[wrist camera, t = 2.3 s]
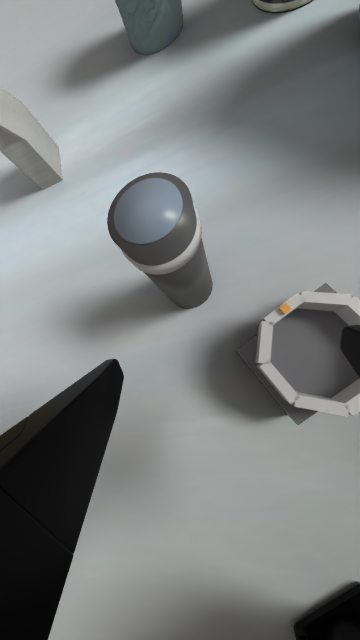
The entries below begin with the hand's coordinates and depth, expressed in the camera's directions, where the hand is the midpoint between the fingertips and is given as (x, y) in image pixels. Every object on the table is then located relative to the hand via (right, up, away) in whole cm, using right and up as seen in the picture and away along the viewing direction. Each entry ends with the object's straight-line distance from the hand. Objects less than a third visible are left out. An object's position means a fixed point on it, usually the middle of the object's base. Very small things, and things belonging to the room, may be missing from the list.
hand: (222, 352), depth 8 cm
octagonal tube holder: (+9, -2, +11) cm, 14 cm away
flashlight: (-1, +5, +15) cm, 15 cm away
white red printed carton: (-22, +25, +24) cm, 41 cm away
